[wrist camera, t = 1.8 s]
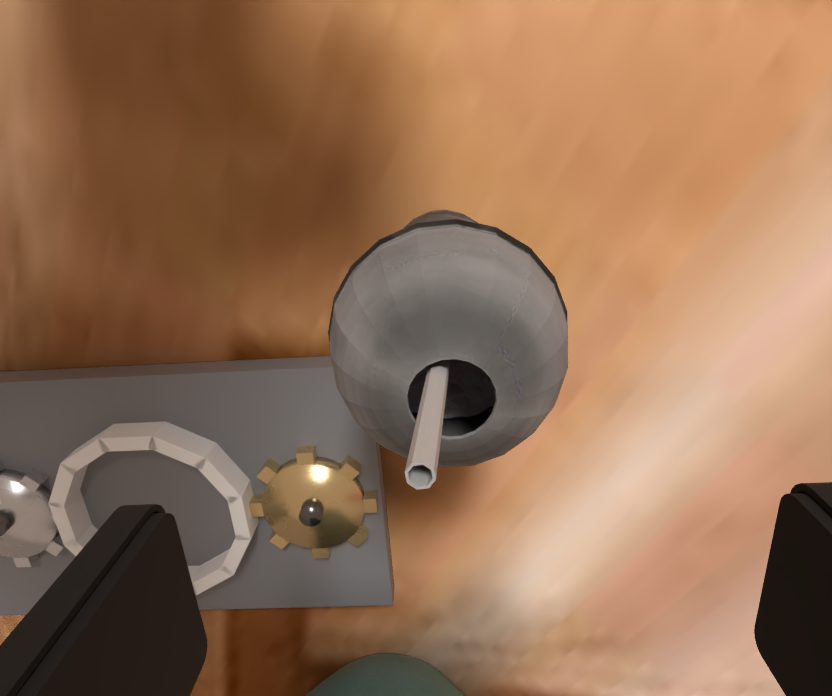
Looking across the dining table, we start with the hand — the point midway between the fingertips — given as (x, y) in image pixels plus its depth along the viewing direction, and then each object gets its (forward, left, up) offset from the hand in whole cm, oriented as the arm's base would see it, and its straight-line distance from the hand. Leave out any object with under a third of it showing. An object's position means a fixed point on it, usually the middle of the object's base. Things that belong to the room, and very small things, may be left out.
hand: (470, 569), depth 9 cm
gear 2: (+13, -8, -19) cm, 24 cm away
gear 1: (+13, -25, -19) cm, 34 cm away
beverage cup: (0, 0, -21) cm, 21 cm away
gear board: (+13, -17, -21) cm, 29 cm away
